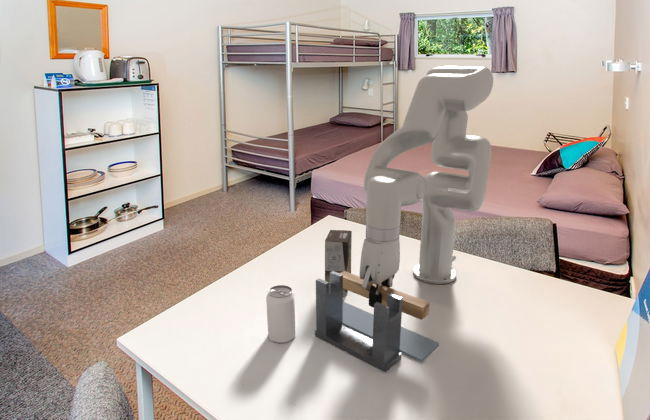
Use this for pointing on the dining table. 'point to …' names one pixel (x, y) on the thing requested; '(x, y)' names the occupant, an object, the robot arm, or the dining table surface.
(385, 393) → the dining table surface
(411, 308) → the rail
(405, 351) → the mat
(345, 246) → the coffee box
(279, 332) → the can
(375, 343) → the rail rack
